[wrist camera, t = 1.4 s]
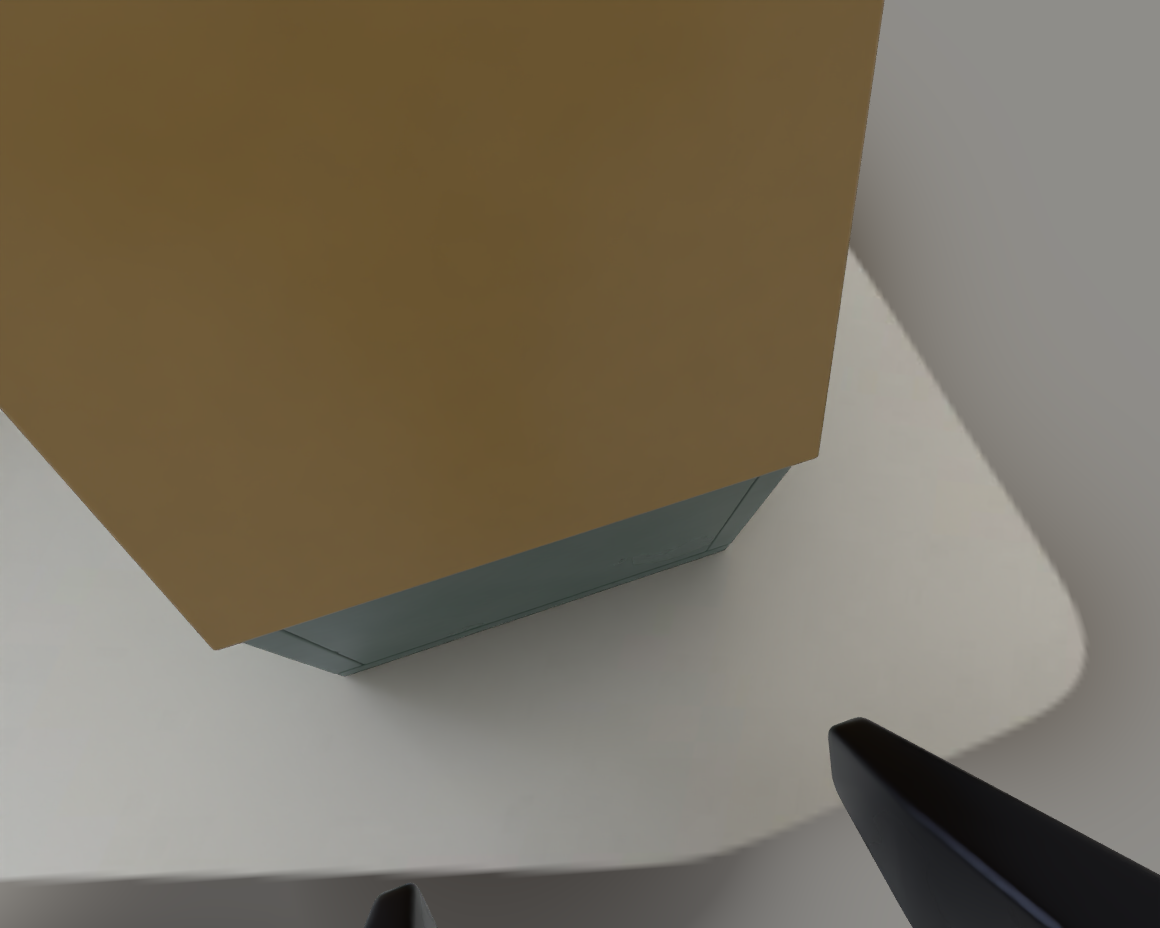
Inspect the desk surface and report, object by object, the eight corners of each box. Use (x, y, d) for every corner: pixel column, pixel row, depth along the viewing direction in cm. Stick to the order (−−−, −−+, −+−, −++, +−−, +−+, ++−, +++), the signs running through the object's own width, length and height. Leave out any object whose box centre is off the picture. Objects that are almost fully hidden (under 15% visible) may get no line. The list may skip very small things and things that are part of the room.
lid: (-1195, -1085, 4) (-1475, -1248, 3) (982, -1143, 5) (1073, -1254, 4) (215, 617, 14) (213, 654, 13) (798, 433, 15) (819, 458, 15)
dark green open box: (255, 283, 26) (133, 97, 18) (581, 198, 27) (586, -6, 20) (342, 677, 21) (225, 638, 14) (726, 549, 23) (802, 453, 15)
